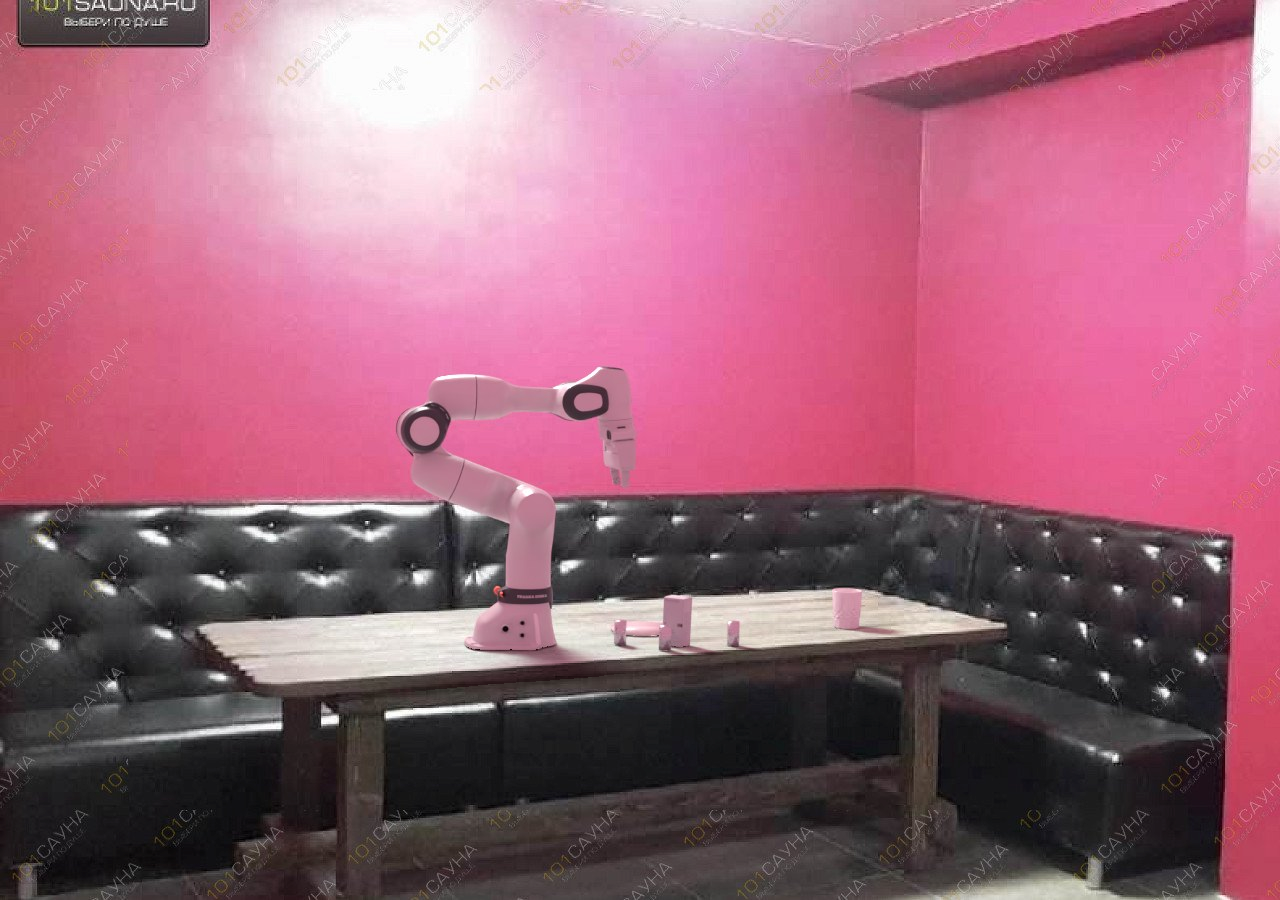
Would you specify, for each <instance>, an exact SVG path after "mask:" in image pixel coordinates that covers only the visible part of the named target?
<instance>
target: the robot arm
mask: <svg viewBox="0 0 1280 900" xmlns="http://www.w3.org/2000/svg"><path fill="white" fill-rule="evenodd" d="M631 391H632V389H631V383H630V378H629V375H628V373H627V372H626V371H625V370H624V369H622V368H620V367H614V366H598V367H596V369H594V371H593V372H591V373H590V374H588V375H587V376H585V377H583V378H581V379H580V380H578V381H575V380H574V381H567V382H563V383H560V384H558V385H556V386H555V385H554V386H553V387H538V386H537V387H535V386H534V387H532V386H520V385H515V384H513V383H511V382H508V381H506V380H504V379H502V378H499V377H496V376H491V375H484V374H452V375H445V376H440V377H439V376H438V377H436V378H435V379H433V380H432V381H431V383H430V385H429V387H428V390H427V397H426V398H427V399H426V401H425V402H424V404H421V405H419V406H413V407H409V408H407V409H406V410H404V411H403V412H401V414H400V415H399V417H398V419H397V420H396V423H395V424H396V425H395V432H396V433H395V434H396V435H397V438H398V441H399V442H400V443H401V444H402V446H403V447H404V448H405V449H406V451H407V452H408V453H409V454H410V455H411V457H412V458H413V459H412V463H411V466H410V478H411V481H412V483H413V484H414V485H415V486H417V487H419V488H420V489H421V490H423V491H424V492H427V493H428V494H430V495H432V496H435V497H437V498H439V499H440V500H444V501H446V502H448V503H452V504H453V505H456V506H459V507H462V508H464V509H467V510H469V511H472V512H475V513H478V514H481V515H484V516H486V517H490V518H493V519H495V520H498V521H501V522H504V523H507V524H509V527H508V528H509V530H508V540H507V547H506V548H507V549H506V553H505V585H504V586H502V587H500V586H498V585H497V586H495V587H494V588H493V593H494V594H495V595H496V598H497V601H496V603H494V604H493V605H492V606H490V607H489V608H487V610H485V611H483V613H481V614H480V615H479V616H477V618H476V620H475V623H474V628H473V635H469V636H466V637H465V638H464V642H463V643H465V644H464V645H465V647H466V648H468V647H469V649H471V648H472V650H475V649H480V650H479V651H537V650H536V649H538V650H540V649H543V648H548V647H551V646H554V645H556V644H557V639H556V637H555V632H554V626H553V620H552V619H553V618H552V607H553V605H554V604H553V602H554V601H553V597H554V595H553V586H552V585H551V583H552V582H551V580H552V578H551V577H552V576H551V575H552V574H551V572H552V571H551V570H552V549H553V542H554V534H555V522H556V513H557V510H556V509H557V508H556V503H555V501H554V498H553V497H552V496H551V495H550V494H549V493H548V492H547V491H546V490H544V489H541V488H540V487H538V486H535V485H534V484H533V485H532V484H530V483H527V482H525V481H522V480H520V479H518V478H515V477H512V476H510V475H506V474H504V473H501V472H499V471H497V470H493V469H491V468H489V467H486V466H483V465H481V464H478V463H476V462H473V461H471V460H468V459H466V458H463V457H461V456H459V455H455V454H453V453H451V452H449V451H447V450H446V449H445V448H444V447H443V445H442V444H443V443H444V441H445V438H446V436H447V433H448V430H449V427H450V425H451V422H453V421H461V420H463V421H464V420H466V421H491V420H497V419H502V418H504V417H505V416H508V415H510V414H514V413H519V412H520V413H523V412H524V413H525V412H526V413H547V414H553V415H554V416H556V417H559V418H560V419H563V420H564V421H569V422H575V421H576V422H586V421H588V420H590V419H593V418H597V426H598V440H602V451H603V452H602V453H603V454H602V456H603V463H604V466H605V467H607V468H609V474H610V475H611V476H610V477H611V481H612V485H613V486H620V487H621V488H622V489H629V488H630V477H631V471H634V470H635V469H636V465H637V463H636V461H637V460H636V459H637V458H636V457H637V454H636V451H637V450H636V447H637V446H636V440H635V439H637V438H638V432H637V429H636V428H635V424H634V416H633V412H632V392H631ZM547 646H548V647H547ZM542 647H543V648H542ZM510 649H512V650H510Z"/></svg>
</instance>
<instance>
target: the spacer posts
mask: <svg viewBox="0 0 1280 900" xmlns="http://www.w3.org/2000/svg"><path fill="white" fill-rule="evenodd" d="M627 622H628V621H627V620H626V619H614V622H613V624H614V633H613V645H614V644H615V645H614V646H616V645H625V646H627V636H626V626H627ZM740 624H741V622H740V620H727V623H726V625H727V626H726V627H727V628H726V629H727V630H726V631H727V632H726V633H727V635H726V639H727V640H726V646H727V645H728V646H727V647H730V646H738V647H740V627H741V625H740ZM659 650H671V651H672V646H671V625H667V624H662V625H659V636H658V651H659Z"/></svg>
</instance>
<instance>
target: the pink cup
mask: <svg viewBox="0 0 1280 900" xmlns="http://www.w3.org/2000/svg"><path fill="white" fill-rule="evenodd" d="M831 590H832V597H831V598H832V616H833V627H834V628H835V627H836V628H835V629H839V628H841V629H842V630H855V629H857V630H858V629H859V628H860V621H861V620H860V617H861V613H862V611H861V610H862V609H861V608H862V600H863V599H862V596H863V591H862V590H861V589H857V588H849V587H839V588H837V587H836V588H833V589H831ZM841 629H840V630H841Z"/></svg>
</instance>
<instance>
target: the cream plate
mask: <svg viewBox="0 0 1280 900" xmlns="http://www.w3.org/2000/svg"><path fill="white" fill-rule="evenodd" d="M662 624H663V622H659V621H650V620H649V621H645V620H643V621H642V620H632V621H631V620H630V621H627V626H626V635H635V636H651V635H659V625H662ZM611 631H612V632H614V623H613V624H611V625H610V632H611ZM612 632H611V633H612Z"/></svg>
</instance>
